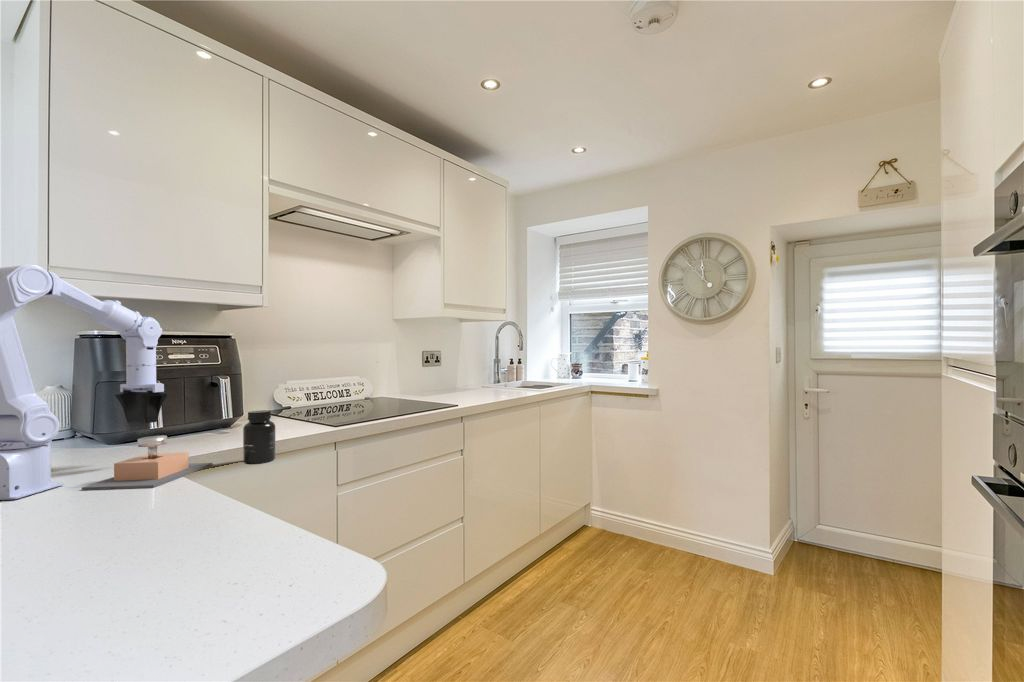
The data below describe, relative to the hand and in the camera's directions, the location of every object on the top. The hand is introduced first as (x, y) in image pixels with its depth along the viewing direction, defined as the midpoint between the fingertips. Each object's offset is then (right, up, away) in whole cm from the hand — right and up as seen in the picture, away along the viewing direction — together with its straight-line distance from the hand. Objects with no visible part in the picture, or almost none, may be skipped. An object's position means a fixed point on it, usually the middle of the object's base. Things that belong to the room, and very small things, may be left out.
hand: (141, 421), depth 112 cm
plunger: (+13, -6, -13) cm, 19 cm away
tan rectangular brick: (+13, -9, -13) cm, 21 cm away
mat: (+13, -9, -13) cm, 21 cm away
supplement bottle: (+30, -9, -2) cm, 31 cm away
